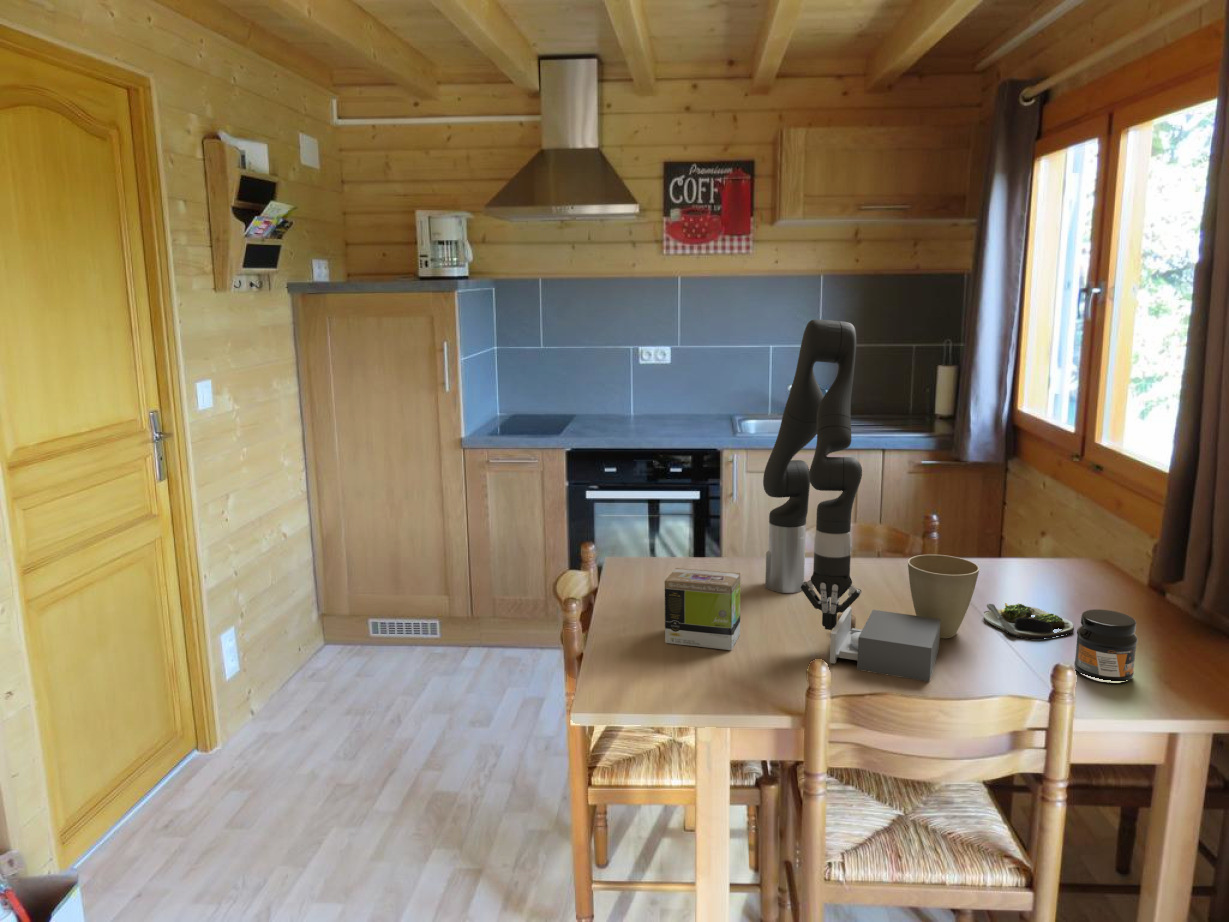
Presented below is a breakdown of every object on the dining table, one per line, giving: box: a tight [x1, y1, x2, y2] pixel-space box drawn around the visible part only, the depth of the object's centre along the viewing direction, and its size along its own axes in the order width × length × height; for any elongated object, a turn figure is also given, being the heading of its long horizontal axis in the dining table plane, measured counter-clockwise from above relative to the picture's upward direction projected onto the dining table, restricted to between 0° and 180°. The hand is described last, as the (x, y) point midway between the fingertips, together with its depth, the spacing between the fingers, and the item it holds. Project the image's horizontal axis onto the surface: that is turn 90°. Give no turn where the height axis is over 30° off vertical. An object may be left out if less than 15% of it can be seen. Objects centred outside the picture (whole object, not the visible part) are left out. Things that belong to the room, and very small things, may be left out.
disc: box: [850, 632, 861, 649], centre depth 191 cm, size 6×6×2 cm
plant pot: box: [907, 554, 980, 639], centre depth 202 cm, size 15×15×16 cm
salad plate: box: [983, 603, 1075, 640], centre depth 208 cm, size 19×18×5 cm
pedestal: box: [837, 613, 857, 630], centre depth 204 cm, size 4×4×4 cm
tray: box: [829, 606, 863, 665], centre depth 191 cm, size 14×17×6 cm
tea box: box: [664, 567, 741, 651], centre depth 199 cm, size 15×10×15 cm
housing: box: [856, 609, 941, 682], centre depth 188 cm, size 14×17×7 cm
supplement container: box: [1073, 608, 1138, 681], centre depth 180 cm, size 10×10×12 cm
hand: (829, 628), depth 194 cm, fingers closed
